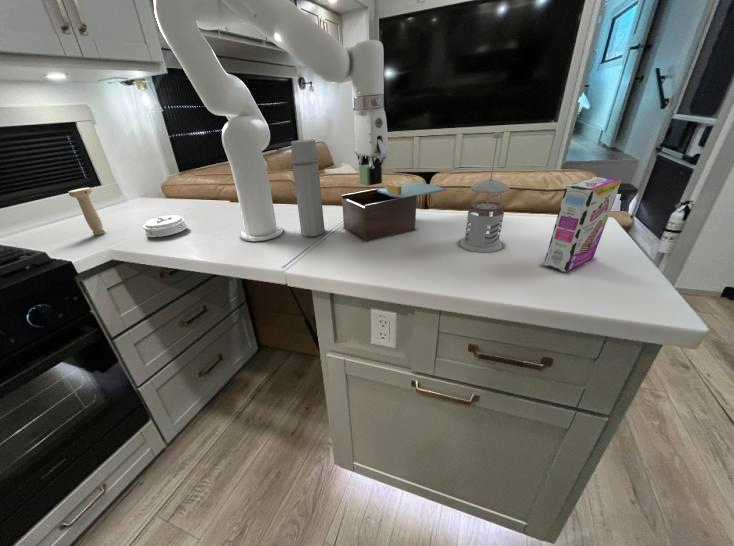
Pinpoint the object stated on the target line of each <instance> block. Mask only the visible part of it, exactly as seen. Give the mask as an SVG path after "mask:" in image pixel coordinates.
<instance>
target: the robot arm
mask: <svg viewBox="0 0 734 546" xmlns="http://www.w3.org/2000/svg"><path fill="white" fill-rule="evenodd" d="M153 9H154V15H155V18H156V21H157V24H158V27H159V30H160V32H161V34H162V36H163V39H164V40H165V42H166V43H167V45H168V47H169V48H170V50H171V51H172V53H173V55H174V56H175V58H176V60H177V61H178V63H179V64H180V66H181V68H182V69H183V71H184V73H185V75H186V77H187V79H188V80H189V81H190V84H191V85H192V87H193V88H194V90H195V92H196V93H197V95H198V97H199V99H200V100H201V102H202V104H203V105H204V107H205V108H206V109H207V111H208V112H210V113H211V114H213V115H215V116H220V117H221V116H222V117H226V119H227V120H228V121H226V123H224V126H223V127H222V131H221V142H222V147H223V149H224V152H225V155H226V158H227V160H228V163H229V166H230V170H231V174H232V179H233V183H234V186H235V191H236V194H237V195H236V196H237V200H238V204H239V209H240V213H241V218H242V223H243V227H244V230H242V231H241V233H240V238H241V239H242V240H243V241H247V242H262V241H263V242H265V241H269V240H272V239H275V238H277V237H279V236H281V235H282V234H283V232H284V231H283V227H282V226H281V225H278V224H277V219H276V213H275V209H274V201H273V196H272V190H271V184H270V178H269V173H268V168H267V165H266V162H265V158H264V154H263V151H264V150H266V148H268V146H269V144H270V141H271V131H270V128H269V125H268V123H267V121H266V118H265V117H264V116H263V114H262V112H261V110H260V108H259V106H258V105H257V103H256V101H255V99H254V97H253V95H252V94H251V91H250V90H249V88H248V87H247V85H246V84H245V83H244V81H242V80H241V79H240V78H239V77H238V76H236V75H233V74H230V73H228V72H227V71H226V70H225V69H224V67H223V66H222V64H221V62H220V60H219V59H218V57H217V55H216V53H215V51H214V49H213V47H212V46H211V44H210V43H209V42H208V40H207V39H206V37H205V36H204V34H203V33H202V32H201V30H204V31H214V30H219V29H223V28H227V27H231V26H235V25H240V24H243V23H247V24H248V25H250V26H251V27H252V28H254V29H255V30H256V31H258V32H259V33H260V34H261V35H262V36H264V37H266V38H267V39H268V40H269V41H270V42H272V43H273V44H274V45H275V46H277V47H278V48H280V49H281V50H284V51H285V52H286V53H288V54H289V55H291V56H292V57H293V58H294V59H296V60H297V61H299V63H301V64H302V65H303V66H305V67H306V68H307V69H309V70H310V71H311V72H313V73H314V74H315V75H316V76H317V77H318V78H320V79H321V80H323V81H324V82H327V83H329V84H332V85H340V84H343V83H347V82H350V81H351V91H352V92H351V93H352V111H353V112H352V113H353V114H354V118H353V119H354V120H353V143H354V154H355V155H356V157H357V160H358V166H359V165H366V164H371V169H370V185H369V186H374V185H380V184H382V183H381V168H382V169H383V164H384V161H385V159H386V158H387V156H388V155H387V154H388V152H389V138H388V137H389V136H388V135H389V134H388V123H387V115H386V110H385V71H384V70H385V64H384V63H385V62H384V61H385V59H384V58H385V57H384V56H385V55H384V54H385V53H384V52H385V51H384V45H383V42H382V41H381V40H377V39H367V40H366V39H365V40H360V41H357V42H355V43H353V44H352V46H345V45H343V44H342V43H341V42H340V41H339V40H337V39H336V38H335V37H334V36H333V35H332V34H330V33H329V32H327V31H326V30H325V29H324V28H322V27H321V26H320V25H318V23H316V22H315V21H314V20H313V19H311V18H310V17H309V16H307V15H306V14H305V13H304V12H303V11H301V10H300V8H299V7H298V6H297V5H296V4H294V2H292V1H291V0H153Z"/></svg>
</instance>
